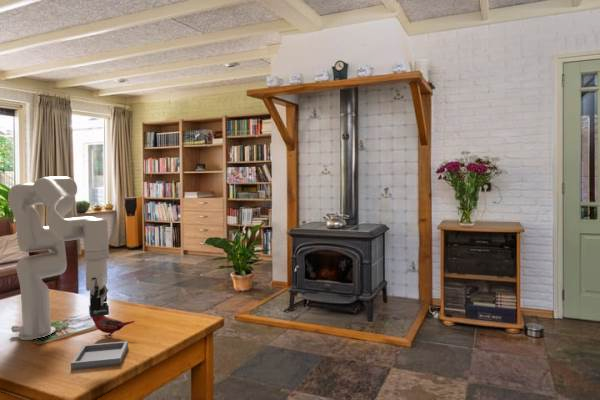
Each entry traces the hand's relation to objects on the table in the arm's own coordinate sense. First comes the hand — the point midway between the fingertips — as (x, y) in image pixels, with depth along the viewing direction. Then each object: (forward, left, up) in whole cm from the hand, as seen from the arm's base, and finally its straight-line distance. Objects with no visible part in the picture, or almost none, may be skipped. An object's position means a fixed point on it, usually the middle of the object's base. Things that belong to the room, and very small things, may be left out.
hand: (99, 305), depth 148 cm
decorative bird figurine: (0, +20, -19) cm, 27 cm away
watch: (0, 0, -3) cm, 3 cm away
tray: (0, 0, -18) cm, 18 cm away
